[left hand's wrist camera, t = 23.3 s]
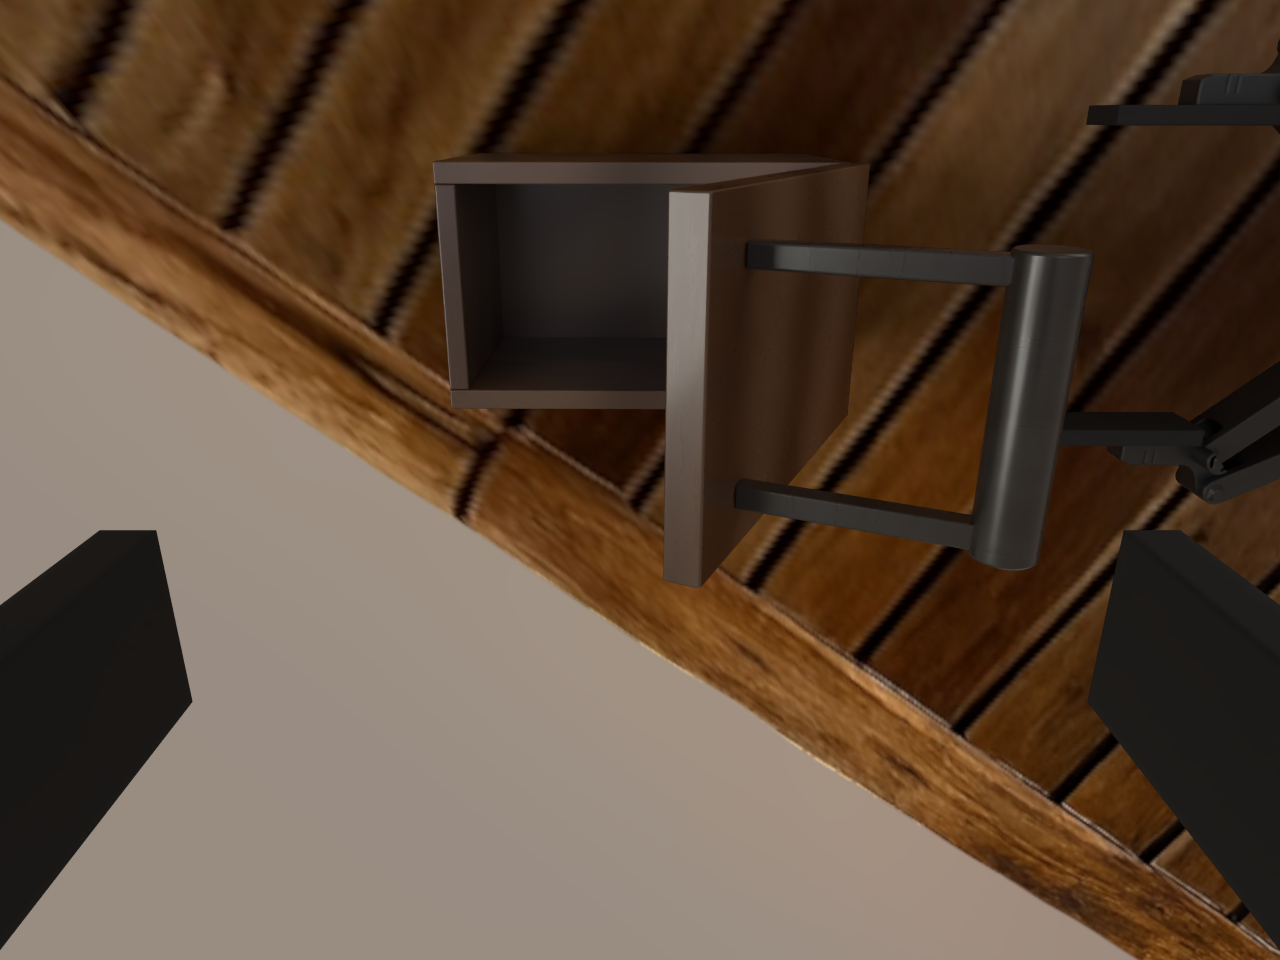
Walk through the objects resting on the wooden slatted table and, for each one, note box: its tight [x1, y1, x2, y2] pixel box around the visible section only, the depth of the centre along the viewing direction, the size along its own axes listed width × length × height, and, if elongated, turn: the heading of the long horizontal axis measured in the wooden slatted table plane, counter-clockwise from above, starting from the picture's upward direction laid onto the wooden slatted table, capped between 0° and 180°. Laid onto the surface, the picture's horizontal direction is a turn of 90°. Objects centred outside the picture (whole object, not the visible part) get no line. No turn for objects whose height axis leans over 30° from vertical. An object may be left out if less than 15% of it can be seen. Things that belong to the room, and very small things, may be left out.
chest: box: [433, 153, 851, 409], centre depth 42 cm, size 16×10×11 cm, turn 90°
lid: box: [663, 163, 1094, 588], centre depth 27 cm, size 17×10×9 cm
